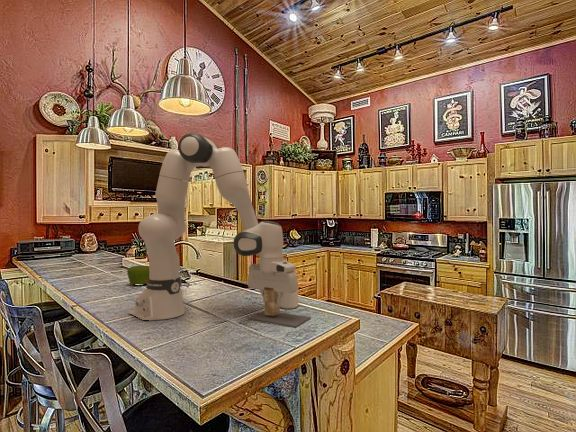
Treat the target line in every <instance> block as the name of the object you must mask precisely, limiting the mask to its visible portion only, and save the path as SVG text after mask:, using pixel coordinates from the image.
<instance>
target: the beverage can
mask: <svg viewBox="0 0 576 432" xmlns="http://www.w3.org/2000/svg"><path fill="white" fill-rule="evenodd" d="M298 280H299V279H297V281H298ZM298 282H299V281H298ZM297 307H299V288H298V289H297V291H296V292H294V293H284V294H283V296H282V298H281V303H280V308H281V309H285V310H292V309H295V308H297Z"/></svg>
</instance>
